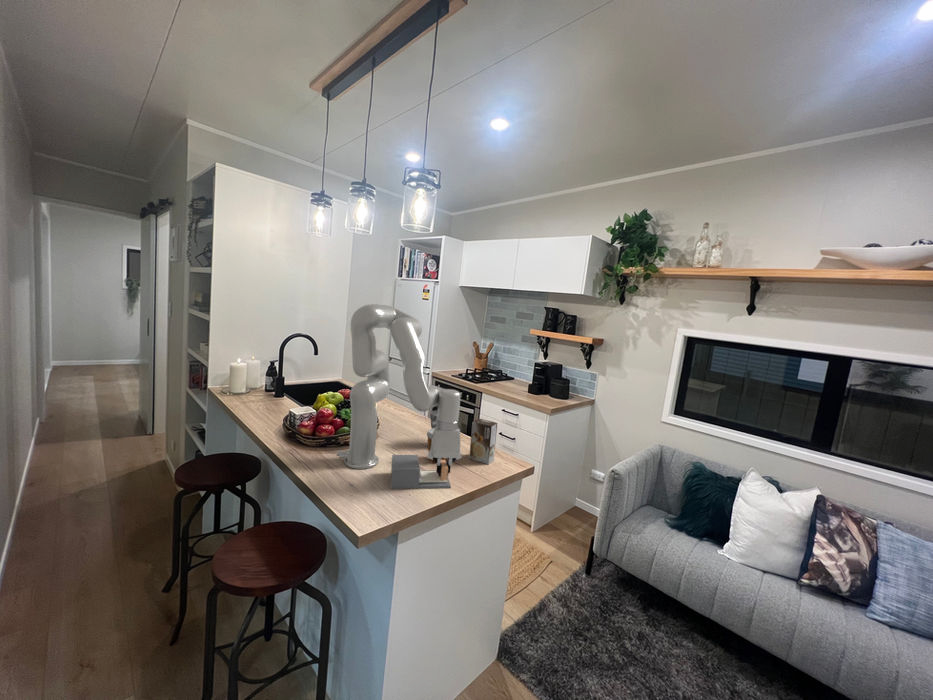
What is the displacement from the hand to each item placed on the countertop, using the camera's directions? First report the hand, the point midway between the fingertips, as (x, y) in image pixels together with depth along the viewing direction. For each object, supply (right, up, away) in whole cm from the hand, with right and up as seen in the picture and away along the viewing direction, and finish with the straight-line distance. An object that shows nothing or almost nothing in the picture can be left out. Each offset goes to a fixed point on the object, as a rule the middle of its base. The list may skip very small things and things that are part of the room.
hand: (443, 474), depth 133 cm
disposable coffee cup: (-4, 0, +17) cm, 17 cm away
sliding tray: (-8, -1, -1) cm, 8 cm away
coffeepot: (-4, +2, +33) cm, 33 cm away
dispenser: (-8, -2, -1) cm, 8 cm away
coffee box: (+15, -1, +22) cm, 26 cm away
